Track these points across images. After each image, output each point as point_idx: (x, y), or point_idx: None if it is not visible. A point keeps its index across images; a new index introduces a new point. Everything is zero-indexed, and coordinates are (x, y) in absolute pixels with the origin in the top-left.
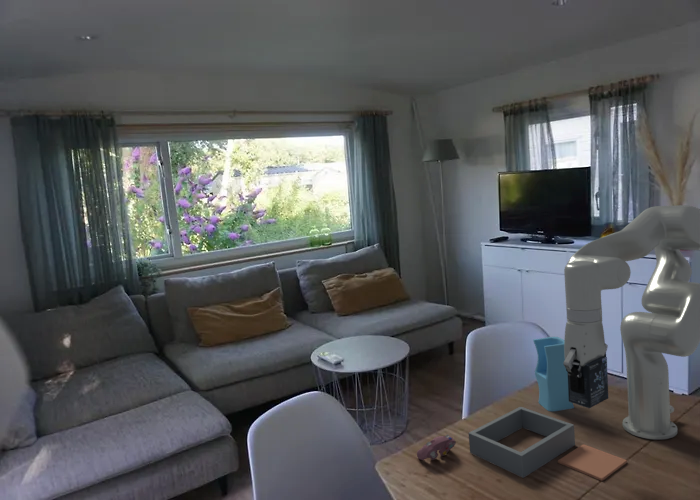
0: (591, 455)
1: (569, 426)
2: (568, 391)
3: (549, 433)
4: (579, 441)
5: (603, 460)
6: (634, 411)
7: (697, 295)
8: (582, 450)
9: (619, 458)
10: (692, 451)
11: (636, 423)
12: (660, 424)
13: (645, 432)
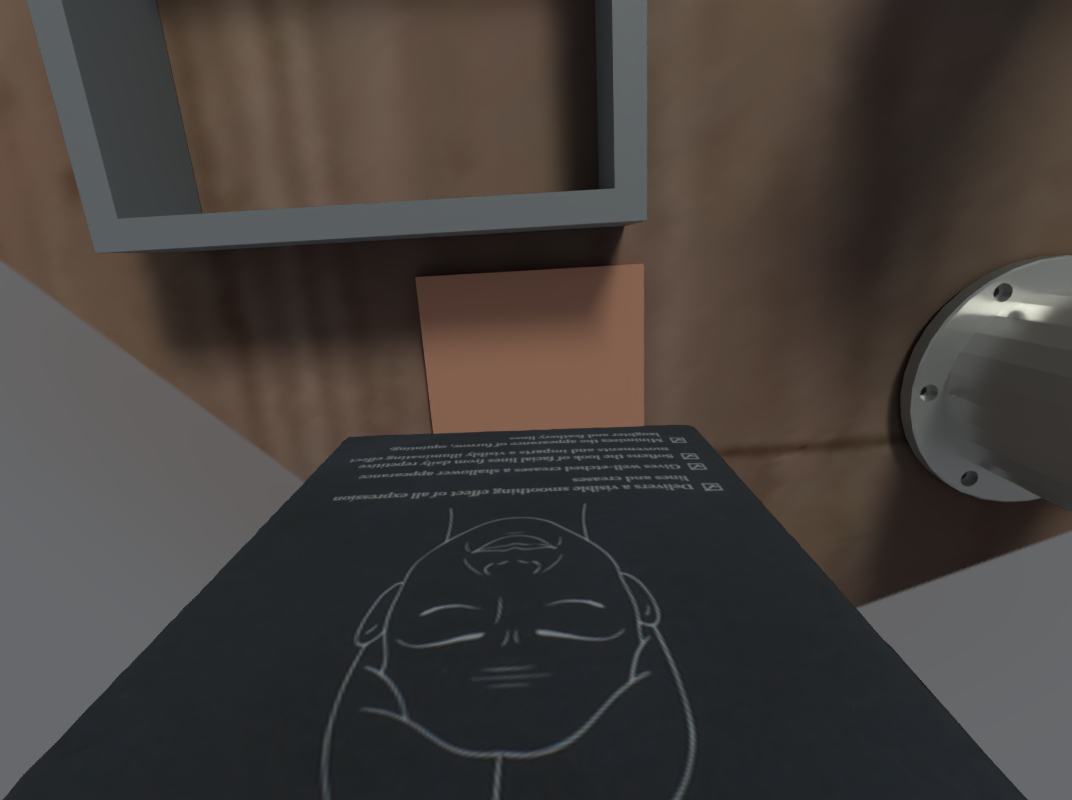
0: (571, 355)
1: (606, 214)
2: (298, 490)
3: (598, 63)
4: (674, 217)
5: (569, 415)
6: (1042, 388)
7: None
8: (582, 300)
9: None
10: (901, 585)
11: (976, 380)
12: (1013, 483)
13: (939, 417)
